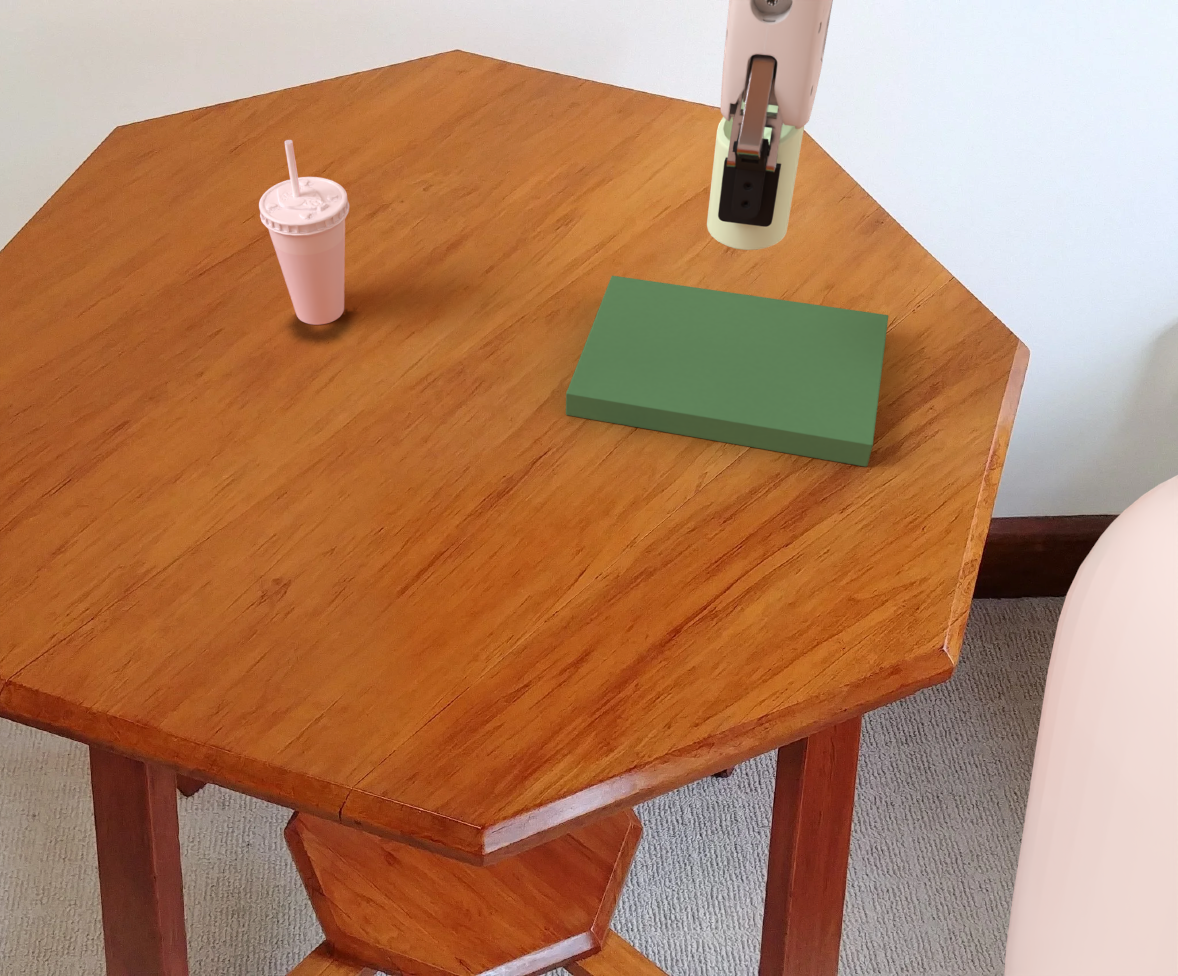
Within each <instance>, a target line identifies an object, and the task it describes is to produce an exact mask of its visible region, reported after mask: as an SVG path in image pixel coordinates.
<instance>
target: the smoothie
mask: <svg viewBox="0 0 1178 976" xmlns="http://www.w3.org/2000/svg"><path fill="white" fill-rule="evenodd" d="M283 143H284V149H285V155H286V156H285V157H286V162H287V167H288V173H289V179H287V180H284V181H281V182H279V183H276V184H275V185H273V186H271V187H270V188H268V189H267V190H265V192H264V193H263V194H262V196H260V199H259V202H258V210H259V218H260V220H261V223H262V224H263V225H264V226H265V227H266V228H267V229H268V234H269V236H270V239H271V243H272V244H273V248H274V250H275V254H276V257H277V260H278V263H279V266H280V269H281V272H282V275H283V279H284V281H285V284H286V287H287V291H288V294H289V297H290V299H291V303H292V306H293V309H294V312H295V315H296V317H297V318H298V320H299V321H301V322H303V323H305V324H308V325H312V326H313V325H317V326H319V325H320V326H321V325H326V324H330V323H332V322H334V321H336V320H338V319H339V318H341V316H342V315H343V314H344V311H345V276H346V275H345V271H346V269H345V268H346V266H345V264H346V261H345V260H346V259H345V258H346V257H345V256H346V218H347V216H348V215H349V213H350V202H349V200H348V193H347V191H346V189H345V188H344V187H343V186H342V185H341V184H339V183H338V182H336V181H334V180H332V179H329V178H325V177H319V176H318V177H317V176H300V177H299V175H298V169H297V162H296V155H295V148H294V142H293V140H292V139H285V141H284V142H283Z"/></svg>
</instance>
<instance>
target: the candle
mask: <svg viewBox="0 0 1178 976" xmlns="http://www.w3.org/2000/svg"><path fill="white" fill-rule="evenodd" d="M744 106H745V102H744V103H743V109H744ZM777 111H778V106H775V105H769V107H768V112H774V113H777ZM732 123H733V117H731V120H730V121H728V120H726V119H725V118H724V117H723V116H722V117H721V120H720V121H719V123H718V125H717V130H716V137H715V138H716V139H715V145H714V156H713V164H712V171H711V173H712V174H711V182H710V191H709V201H708V209H707V210H708V211H707V219H706V228H707V231H708V233H709V234H710V236H711V237H712V238H713V239H715V240H716V241H717V242H718V243H720V244H721V245H724V246H726V247H729V248H732V249H736V250H740V251H741V250H742V251H758V250H763V249H767V248H770V247H773V246H775V245H777V244H778V243H779V242H781V241H782V240H783V239H784V238H785V237H786V235H787V234H788V233H787V232H788V227H789V226H788V225H789V222H790V221H789V220H790V214H791V209H792V201H793V197H794V190H795V184H796V179H797V173H798V167H799V161H800V155H801V154H800V153H801V148H802V142H803V137H804V131H805V125H804V126H803V127H802V128H800V129H795V126H788V125H784V123H783V127H782V133H781V139H780V145H779V151H778V157H777V163H779V164H781V169H780V175H779V182H778V188H777V194H776V201H775V207H774V214H773V219H772V223H771V225H769V226H767V227H763V226H755V225H747V224H739V223H731V222H724V221H721V220H720V219H719V218H718V211H719V203H720V194H721V186H722V177H723V169H724V161H725V158H726V157H728V151H729V144H730V137H731V130H732ZM771 131H772V128H767V127H765V130H764V139H768V142H769V144H770V138H771Z"/></svg>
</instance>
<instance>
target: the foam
mask: <svg viewBox="0 0 1178 976" xmlns="http://www.w3.org/2000/svg"><path fill="white" fill-rule="evenodd" d="M888 323H889V315H888V314H884V313H877V312H869V311H864V310H857V309H848V308H841V307H835V306H827V305H821V304H815V303H807V302H800V301H794V300H788V299H787V300H786V299H779V298H772V297H765V296H759V295H751V294H744V293H737V292H731V291H722V290H715V289H709V288H703V287H696V286H695V287H694V286H689V285H681V284H676V283H675V284H674V283H667V282H661V281H660V282H659V281H653V280H647V279H640V278H632V277H626V276H618V275H611V276H610V279H609V281H608V284H607V286H606V289H605V291H604V295H603V297H602V299H601V302H600V305H599V308H598V310H597V312H596V315H595V318H594V320H593V323H592V326H591V327H590V330H589V333H588V335H587V338H586V341H585V344H584V345H583V348H582V351H581V354H580V355H579V356H580V357H579V359H578V362H577V364H576V367H575V369H574V372H573V375H572V377H571V379H570V382H569V385H568V387H567V390H566V393H565V415H566V416H568V417H569V416H570V417H576V418H582V419H586V420H593V421H598V422H603V423H611V424H616V425H620V426H621V425H622V426H627V427H633V428H640V429H644V430H645V429H646V430H651V431H655V432H661V433H669V434H673V435H679V436H685V437H691V438H697V439H703V440H709V441H714V442H720V443H727V444H732V445H737V446H743V447H749V448H753V449H760V450H766V451H772V452H778V453H783V454H788V455H789V454H790V455H795V456H800V457H807V458H813V459H818V460H825V461H830V462H834V463H842V464H846V465H847V464H848V465H853V466H859V467H865V468H867V467H868V466H869V462H870V458H871V454H872V450H873V447H874V441H875V440H874V439H875V430H876V423H877V415H878V406H879V397H880V388H881V380H882V374H883V373H882V372H883V364H884V357H885V348H886V342H887V341H886V339H887V333H888V331H887V330H888Z"/></svg>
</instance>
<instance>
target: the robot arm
mask: <svg viewBox="0 0 1178 976" xmlns="http://www.w3.org/2000/svg"><path fill="white" fill-rule="evenodd" d="M833 1H834V0H728V9H727V19H726V28H725V41H724V42H725V43H724V52H723V63H722V74H721V75H722V77H721V89H720V114H721V115H722V118H723V117H724V118H725V119H726V120H728V121H730V120H731V117H733V123H732V130H731V137H730V144H729V151H728V157H726V158H725V161H724V169H723V177H722V186H721V194H720V203H719V211H718V218H719V219H720V220H721V221H724V222H731V223H739V224H747V225H755V226H763V227H767V226H769V225H771V223H772V219H773V214H774V207H775V201H776V194H777V188H778V182H779V175H780V169H781V164H779V163H777V157H778V151H779V145H780V139H781V133H782V127H783V123H784V125H788V126H795V129H800V128H802V127H803V126H804V127H805V126H806V125H807V124H808V123H809V122H810V119H811V115H812V112H813V111H812V110H813V108H814V104H815V103H814V102H815V100H816V94H817V91H818V87H819V82H820V77H821V72H822V68H823V67H822V66H823V61H824V55H825V48H826V43H827V38H828V37H827V36H828V32H829V31H828V30H829V25H830V19H831V13H832V9H833V8H832V7H833ZM744 102H745V106H744V109H743V103H744ZM769 105H775V106H778V111H777V113H774V112H768V107H769ZM765 127H767V128H772V131H771V138H770V144H769V142H768V139H764V130H765ZM1044 687H1045V688H1044V693H1043V699H1042V700H1043V701H1042V706H1041V712H1040V719H1039V725H1038V733H1037V739H1036V746H1035V752H1034V757H1033V765H1032V771H1031V778H1030V783H1029V790H1028V797H1027V804H1026V810H1025V817H1024V823H1023V830H1022V835H1021V842H1020V850H1019V856H1018V862H1017V868H1016V873H1015V874H1016V875H1015V880H1014V887H1013V895H1012V899H1011V900H1012V901H1011V907H1010V908H1011V909H1010V915H1009V923H1008V930H1007V936H1006V937H1007V939H1006V948H1005V956H1004V957H1005V959H1004V972H1003V973H1004V975H1003V976H1178V474H1177V475H1175V476H1173V477H1170V478H1169V479H1167V480H1165V481H1163V482H1161V483H1159V484H1157V485H1156V486H1154V487H1152V488H1151V489H1150V490H1149V491H1147V492H1145V493H1144V494H1141V496H1140V497H1138V498H1137V499H1136V500H1134V501H1133V503H1131V504H1130V505H1129V506H1128V507H1126V508H1125V509H1124V510H1123V511H1122V512H1120V514H1119V515H1118V516H1117V517H1116V518H1115V519H1114V520H1113V521H1112V522H1111V523H1110V524H1109V525H1108V527H1107V528H1106V529H1105V530H1104V532H1103V533H1102V534H1101V535H1100V536H1099V538H1098V540H1097V541H1096V542H1095V543H1094V546H1093V547H1092V548H1091V550H1090V551H1089V553H1088V554H1087V555H1086V557H1085V558H1084V560H1083V561H1082V562H1081V564H1080V566H1079V567H1078V569H1077V572H1076V574H1075V576H1074V578H1073V580H1072V583H1071V584H1070V586H1069V588H1068V591H1067V593H1066V596H1065V599H1064V602H1063V606H1062V608H1061V612H1060V614H1059V618H1058V622H1057V626H1056V631H1055V635H1054V640H1053V646H1052V649H1051V654H1050V659H1049V664H1048V669H1047V675H1046V681H1045V686H1044Z"/></svg>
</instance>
